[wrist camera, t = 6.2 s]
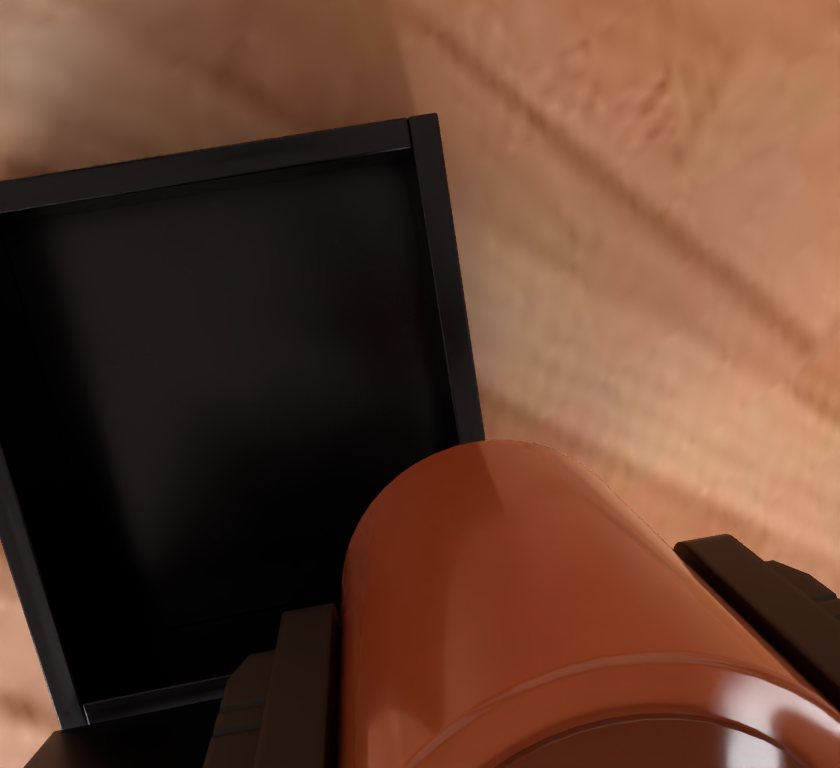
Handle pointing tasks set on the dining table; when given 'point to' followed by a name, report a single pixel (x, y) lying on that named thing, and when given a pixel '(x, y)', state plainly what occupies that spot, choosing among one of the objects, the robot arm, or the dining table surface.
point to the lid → (135, 741)
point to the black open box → (216, 394)
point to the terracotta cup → (549, 633)
